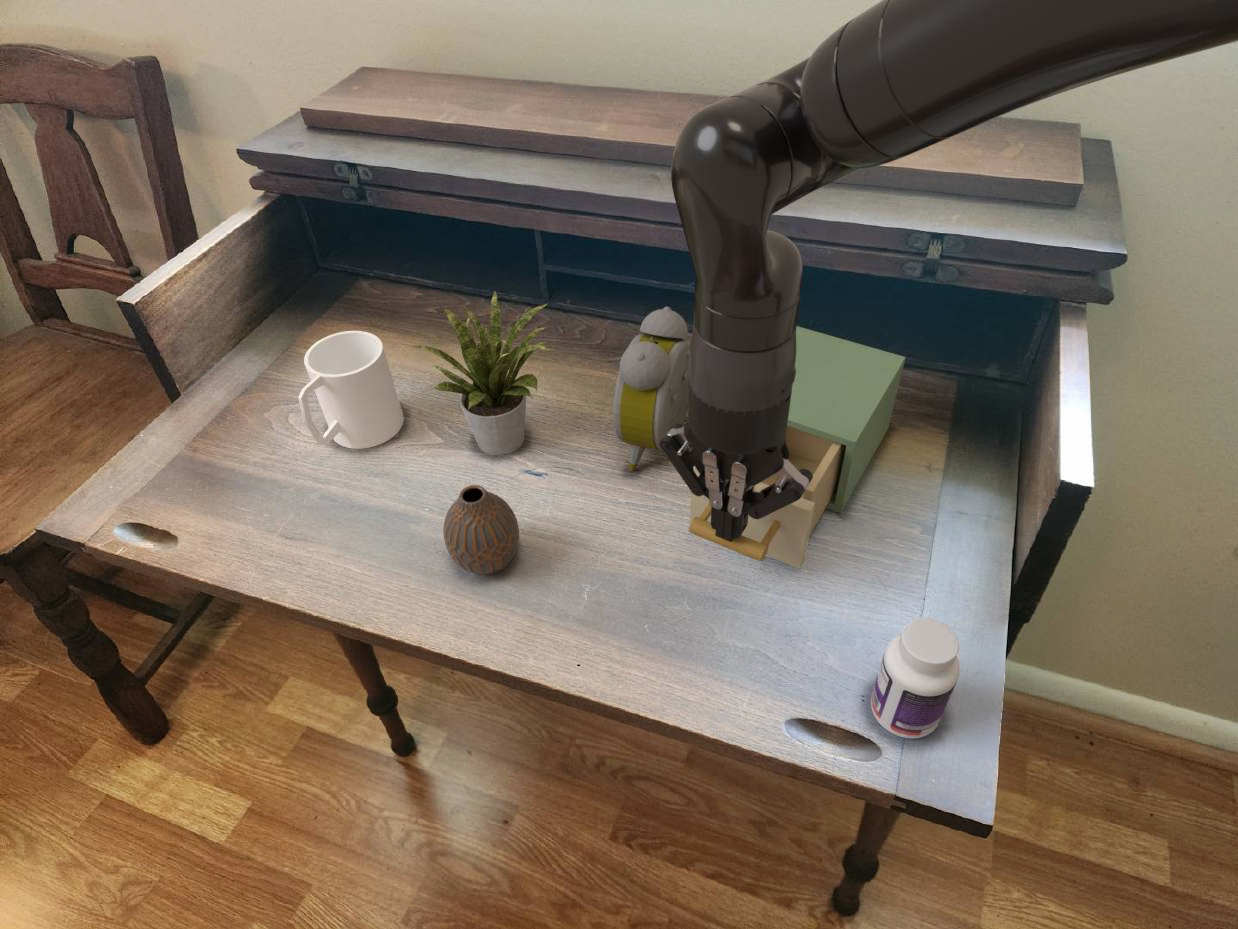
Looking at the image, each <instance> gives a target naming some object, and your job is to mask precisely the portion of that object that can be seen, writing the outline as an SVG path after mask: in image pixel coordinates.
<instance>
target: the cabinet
mask: <svg viewBox="0 0 1238 929" xmlns="http://www.w3.org/2000/svg"><path fill="white" fill-rule="evenodd" d="M796 343H797V353H796V363H795V367H796V375H795V380H794V383H793V386H792V394H791V401H790V409H789V416H788V424H787V426H790V427H793V428H796V429H799V430H802V431H805V432H807V433H810V434H813V435H816V436H819V437H822V438H825V439H828V440H831V441H834V442H837V443H840V444H843V445H846V450H845V455H844V460H843V465H842V470H841V475H840V480H839V485H838V487H837V489H836V491H835V493H834V494H833V496H832V498H831V500H830V501H829V503H828V505H827V506H826V508H825V509H827V510H830V511H832V512H835V513H838V514H840V515H841V514H842V512H843V511H844V509H845V507H846V506H847V503H848V502H849V499H850V498H851V496H852V494H853V493H854V491H855V489H856V487H857V486H858V483H859V482H860V481H861V479H862V476H863V475H864V473H865V471H866V469H867V468H868V465H869V464H870V462H871V461H872V459H873V456H874V455H875V453H876V452H877V449H878V448H879V447H880V444H881V442H882V440H883V439H884V437H885V435H886V434H887V432H888V430H889V427H890V423H891V419H892V417H893V416H892V415H893V411H894V407H895V403H896V399H897V395H898V390H899V386H900V382H901V378H902V375H903V371H904V367H905V362H906V356H903V355H899V354H896V353H892V352H889V351H885V350H883V349H879V348H875V347H872V346H868V345H865V344H861V343H857V342H854V341H851V340H848V339H843V338H840V337H836V336H833V335H829V334H826V333H824V332H819V331H815V330H812V329H809V328H805V327H803V326H802V327H801V326H798V325H797V327H796Z"/></svg>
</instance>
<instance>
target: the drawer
mask: <svg viewBox="0 0 1238 929" xmlns="http://www.w3.org/2000/svg"><path fill="white" fill-rule="evenodd" d="M785 440H786V444H787V446H788V448H789V452H790V455H789V458H788V460H789V461H790V462H791V463H792V464H793V465H794V467H795V468H796V469H797V470H800V469H807V470H809V471H810V472H811V473H812V475H813V479H812V480H811V482H810V483H809V485H808V487H807V489H806V490H805V492H804V493H803V495H802V496H801V498H800V499H799V500H797V501H795V502H793V503H791V504H789V505H787V506H785V507H783V508H781V509H779V510H777V511H775V512H773V513H771V514H769V515H767V516H765V517H762V518H760V519H754V518H752V517H750V516H749V514H748V524H747V527H746V528H745V530H744V531H743V533H742V534H741V536H740V537H739V538H738V539H737V538H734V539H733V541H732V542H729V541H727V540H724V539H722V538H719V537H717V536H716V535H715V534H716V530H715V529H712V526H711V505H710V503H709V499H708V498H707V497H705V496H704V495H702V496H696V495H694V494H693V493H692V492H691V491H690V505H689V506H690V510H689V528H688V532H689V533H690V534H693V535H695V536H697V537H700V538H702V539H705V540H706V541H709V542H712V543H715V544H717V545H719V546H721V547H724V548H726V549H729V550H731V551H734V552H737V553H739V554H741V555H743V556H746V557H748V558H750V559H753V560H756V561H758V562H760V563H762V562H764V560H765V559H766V557H770V558H772V559H775V560H776V561H778V562H782V563H784V564H787V565H789V566H791V567H794V568H796V569H799V570H801V568H803V565H804V563H805V561H806V556H807V551H808V546H809V545H808V544H809V541H810V536H811V534H812V532H813V531H814V529H815V528H816V526H817V523H818V522H819V521H820V519H821V517H822V515H823V513H824V512H825V510H826V509H827V508H826V506H827V505H828V503H829V501H830V500H831V498H832V496H833V494H834V493H835V491H836V489H837V487H838V485H839V480H840V475H841V470H842V465H843V460H844V455H845V450H846V445H843V444H840V443H837V442H834V441H831V440H828V439H825V438H822V437H819V436H816V435H813V434H810V433H807V432H805V431H802V430H799V429H796V428H793V427H790V426H787V430H786V436H785ZM693 470H694V472H695V473H696V475H697V476H699V475H700V473H699V472H698V471H697V469H696V468H695V466H694V467H693ZM777 478H778V474H777V473H775V474H773V475H772V476H770V477H768V478H767V479H765V480H763V481H762V482H760V483H759V484H757V485H755V489H754V492H760V491H761V490H763V489H764V488H766V487H768V486H770V485H772V484H774V483H775V481H776V479H777Z"/></svg>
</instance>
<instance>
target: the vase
mask: <svg viewBox="0 0 1238 929" xmlns="http://www.w3.org/2000/svg"><path fill="white" fill-rule="evenodd" d="M519 527H520V526H519V522H518V518H517V516H516V514H515V512H514V510H513V509H512V507H511V506H510V505H509V504H508V502H507V501H506V500H505V499H504V498H502V497H500V496H499V495H497V494H495V493H493V492H490V491H487V489H486V488H484V487H483V486H482V485H478V484H472V485H468V486H466V487H464V488H463V489H462V490H460V492H459V495H458V498H456V499H455V501H454V502H453V503H452V504H451V505H450V506H449V509H448V510H447V512H446V514H445V518H444V521H443V530H442V531H443V532H442V533H443V540H444V544H445V547H446V550H447V552H448V554H449V556H450V558H451V559H452V560H453V561H454V562H455V563H456V564H457V565H458V566H459V568H461V569H462V570H464V571H466V572H468V573H470V574H471V573H472V574H475V575H489V574H493V573H496V572H498V571H500V570H502V569H503V568H505V567H506V566H507V565H508V564H509V563H511V561H512V560H513V558H514V557H515V555H516V553H517V550H518V546H519V542H520V528H519Z"/></svg>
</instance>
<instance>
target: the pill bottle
mask: <svg viewBox="0 0 1238 929" xmlns="http://www.w3.org/2000/svg"><path fill="white" fill-rule="evenodd" d="M959 650H960V643H959V638H958V636H957V634H956V633H955V632H954V630H953V629H951V628H950V626H948V625H947V624H946V623H944V622H942V621H940V620H938V619H934V618H932V617H931V618H930V617H917V618H914V619H912V620H910V621H908V622H907V623H906V624H905V625H904V627H903V629H902V631H901V632H900V633H898V634H897V635H895V636H894V637H893V638H891V640H890V641H889V642H888V644H887V645H886V648H885V650H884V652H883V655H882V659H881V663H880V666H879V669H878V672H877V674H876V679H875V681H874V686H873V689H872V691H871V697H870V707H871V712H872V714H873V716H874V718H875V719H876V721H877V722H878V723H879V724H880V725H881V726H882V727H883V728H884V729H885V730H886V731H888V732H889V733H891V734H893V735H895V736H897V737H900V738H904V739H912V740H913V739H914V740H915V739H920V738H923V737H926V736H928V735H931V733H933V732H934V731H935V730H936V728H937V727H938V725H939V724H940V721H941V719H942V717H943V715H944V712H945V710H946V708H947V705H948V703H949V701H950V698H951V696H952V693H953V691H954V689H955V686H956V684H957V682H958V679H959V677H960V671H961V668H960V662H959V657H958V653H959Z"/></svg>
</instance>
